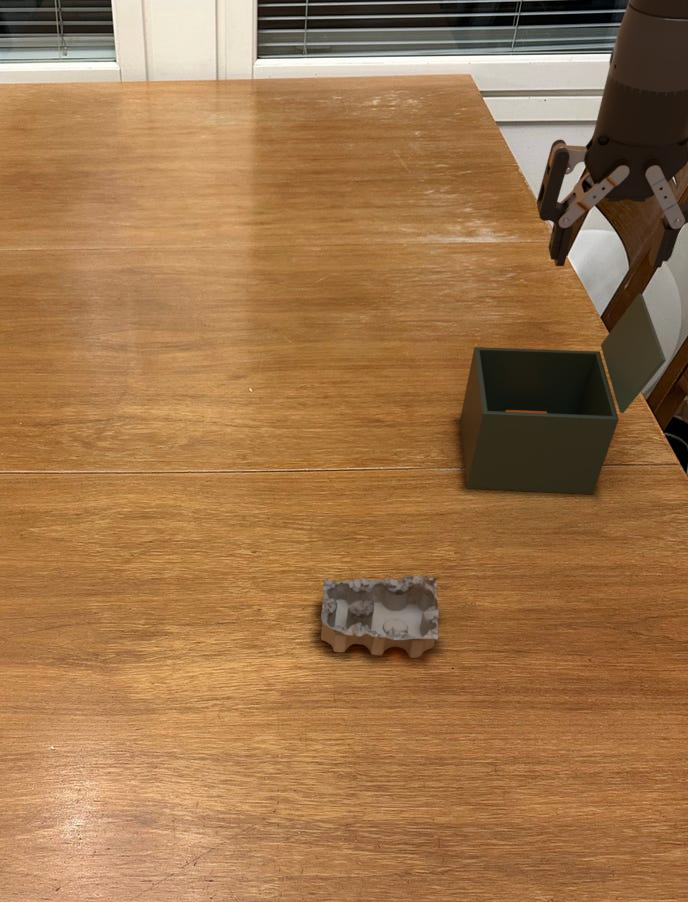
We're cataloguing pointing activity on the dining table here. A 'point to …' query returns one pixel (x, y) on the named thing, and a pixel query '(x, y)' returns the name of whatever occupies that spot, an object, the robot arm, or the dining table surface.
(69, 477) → the dining table surface
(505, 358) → the dark green box
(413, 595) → the egg carton
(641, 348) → the flap
